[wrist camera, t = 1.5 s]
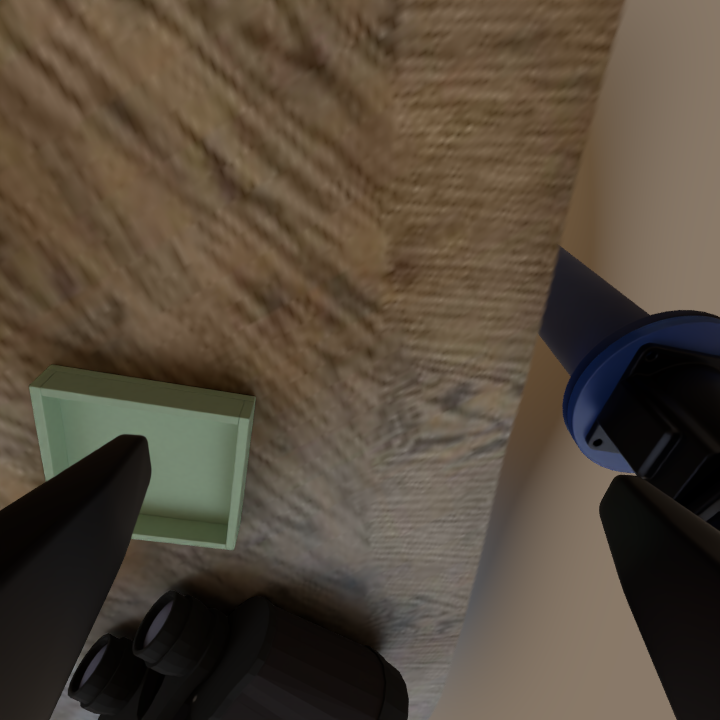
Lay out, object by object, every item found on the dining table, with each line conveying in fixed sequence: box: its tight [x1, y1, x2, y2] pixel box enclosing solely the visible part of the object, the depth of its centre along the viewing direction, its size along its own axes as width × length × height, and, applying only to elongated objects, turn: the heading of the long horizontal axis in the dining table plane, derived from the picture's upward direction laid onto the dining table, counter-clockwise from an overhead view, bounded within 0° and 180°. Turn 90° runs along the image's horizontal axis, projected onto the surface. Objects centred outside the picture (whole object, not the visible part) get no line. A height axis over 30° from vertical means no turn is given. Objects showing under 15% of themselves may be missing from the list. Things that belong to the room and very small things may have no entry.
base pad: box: [29, 365, 256, 550], centre depth 25 cm, size 10×10×2 cm
